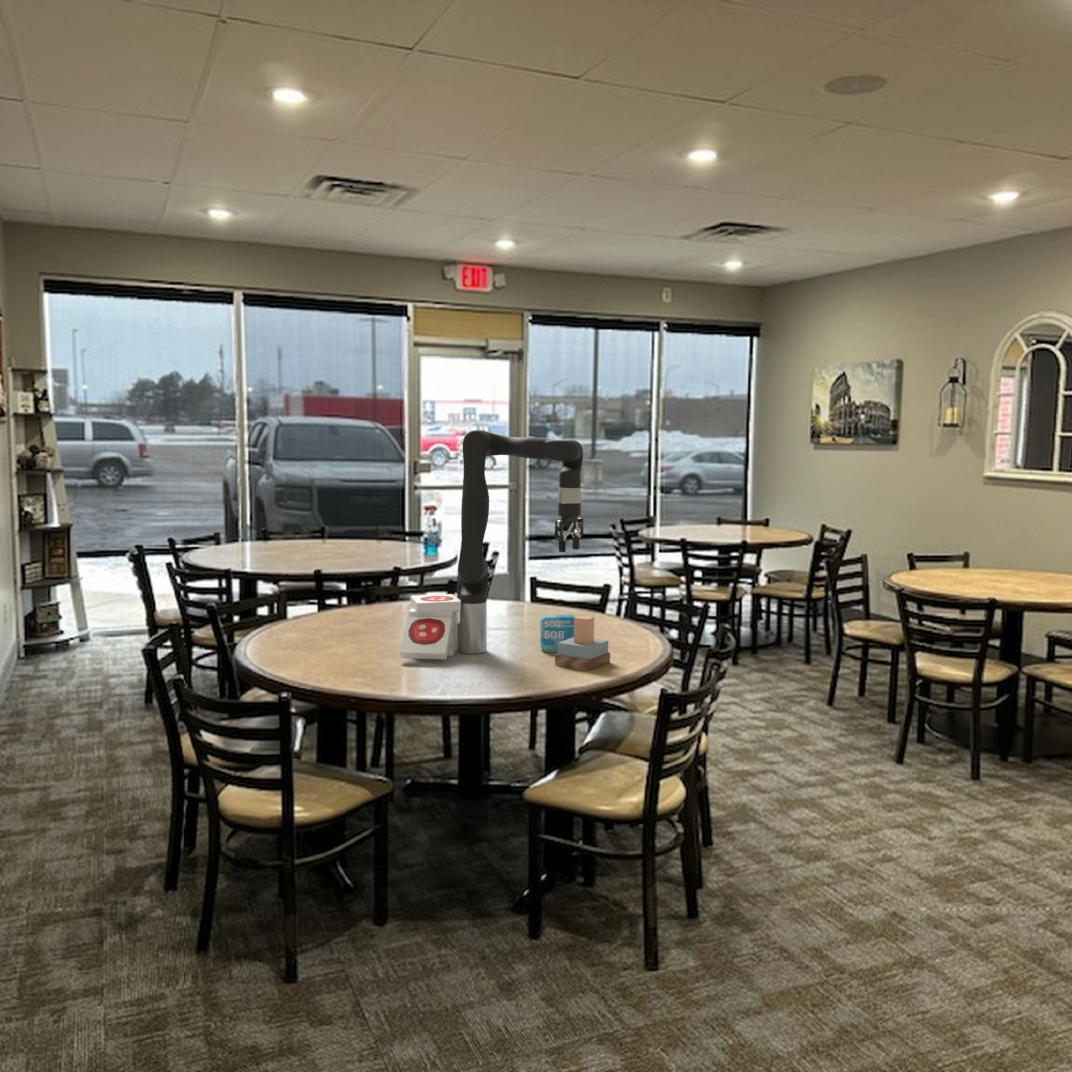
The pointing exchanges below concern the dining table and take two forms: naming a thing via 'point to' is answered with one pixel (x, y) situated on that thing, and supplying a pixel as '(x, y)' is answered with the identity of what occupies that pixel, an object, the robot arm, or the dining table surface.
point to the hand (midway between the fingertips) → (569, 550)
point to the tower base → (582, 662)
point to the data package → (555, 631)
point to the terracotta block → (583, 629)
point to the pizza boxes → (431, 627)
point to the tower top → (583, 648)
